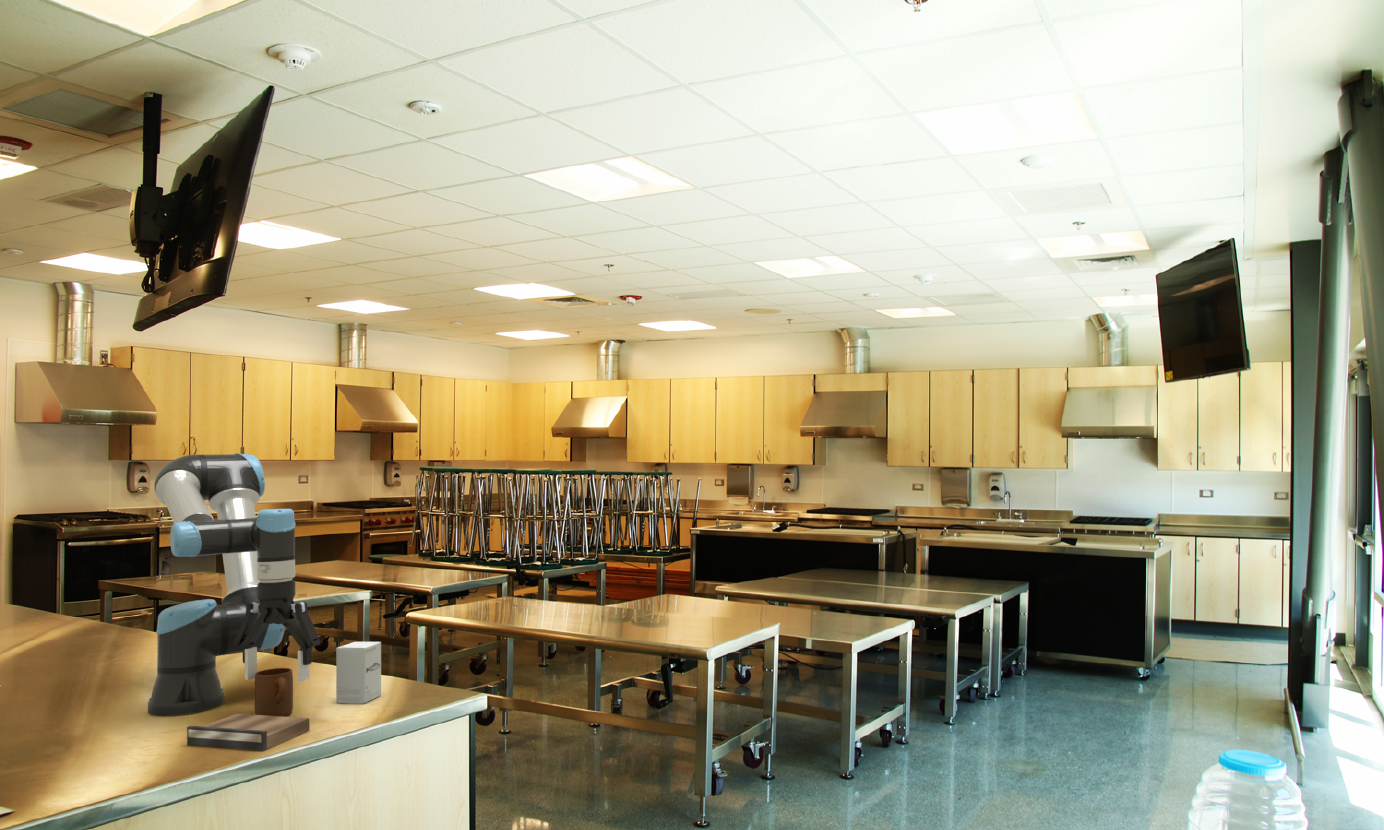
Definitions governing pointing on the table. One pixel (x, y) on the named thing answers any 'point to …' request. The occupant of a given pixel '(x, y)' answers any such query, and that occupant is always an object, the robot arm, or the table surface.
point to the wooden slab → (247, 732)
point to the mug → (274, 692)
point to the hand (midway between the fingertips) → (277, 679)
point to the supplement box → (358, 672)
